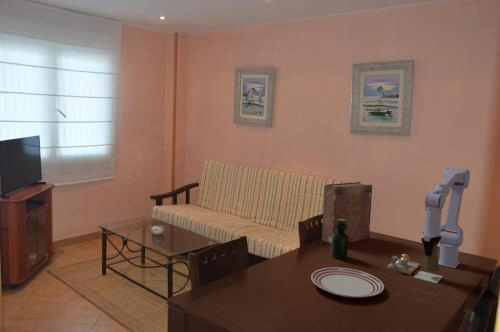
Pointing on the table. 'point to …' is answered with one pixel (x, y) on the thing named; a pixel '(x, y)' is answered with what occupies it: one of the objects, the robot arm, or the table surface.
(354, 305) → the table surface
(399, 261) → the shaft
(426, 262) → the olive stepped cylinder
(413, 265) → the shaft bracket
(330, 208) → the book
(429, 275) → the pale green mat
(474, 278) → the table surface
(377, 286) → the dinner plate
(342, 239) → the potion bottle
